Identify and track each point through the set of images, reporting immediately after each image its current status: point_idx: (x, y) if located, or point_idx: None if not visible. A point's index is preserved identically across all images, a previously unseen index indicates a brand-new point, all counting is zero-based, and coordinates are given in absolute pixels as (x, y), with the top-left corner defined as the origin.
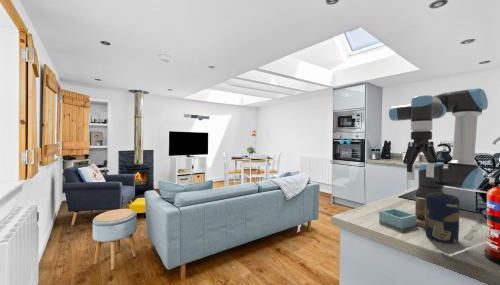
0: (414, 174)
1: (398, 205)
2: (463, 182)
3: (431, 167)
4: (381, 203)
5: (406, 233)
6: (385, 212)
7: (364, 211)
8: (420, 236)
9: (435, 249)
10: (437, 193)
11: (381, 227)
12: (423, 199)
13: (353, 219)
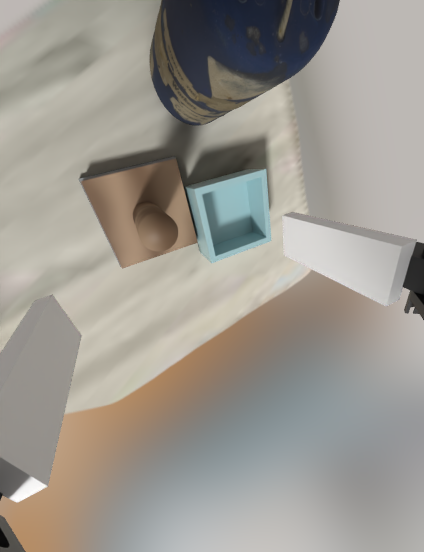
0: (313, 222)
1: (96, 361)
2: None
3: (25, 380)
4: (142, 370)
5: (247, 149)
6: (250, 241)
7: (234, 304)
8: (229, 120)
9: None
10: (262, 22)
11: (273, 199)
12: (158, 216)
13: None
